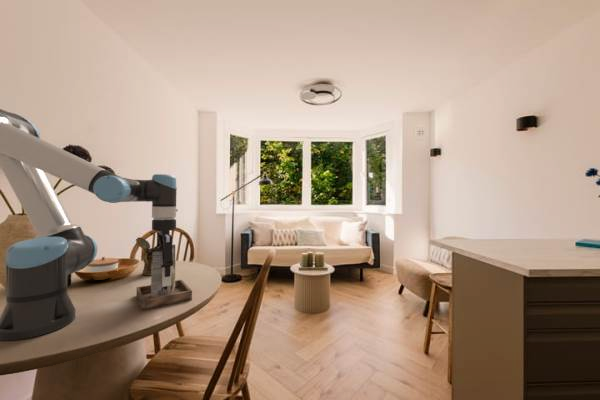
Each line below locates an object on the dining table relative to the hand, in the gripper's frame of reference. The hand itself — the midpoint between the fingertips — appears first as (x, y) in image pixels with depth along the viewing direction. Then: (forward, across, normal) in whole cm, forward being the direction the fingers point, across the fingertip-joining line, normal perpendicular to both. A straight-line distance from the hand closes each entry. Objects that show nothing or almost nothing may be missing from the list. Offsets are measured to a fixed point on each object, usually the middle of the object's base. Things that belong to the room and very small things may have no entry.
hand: (163, 281), depth 90 cm
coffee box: (+4, 0, 0) cm, 4 cm away
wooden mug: (+6, +34, 0) cm, 35 cm away
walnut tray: (+6, 0, 0) cm, 6 cm away
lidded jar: (+6, +38, +17) cm, 42 cm away
